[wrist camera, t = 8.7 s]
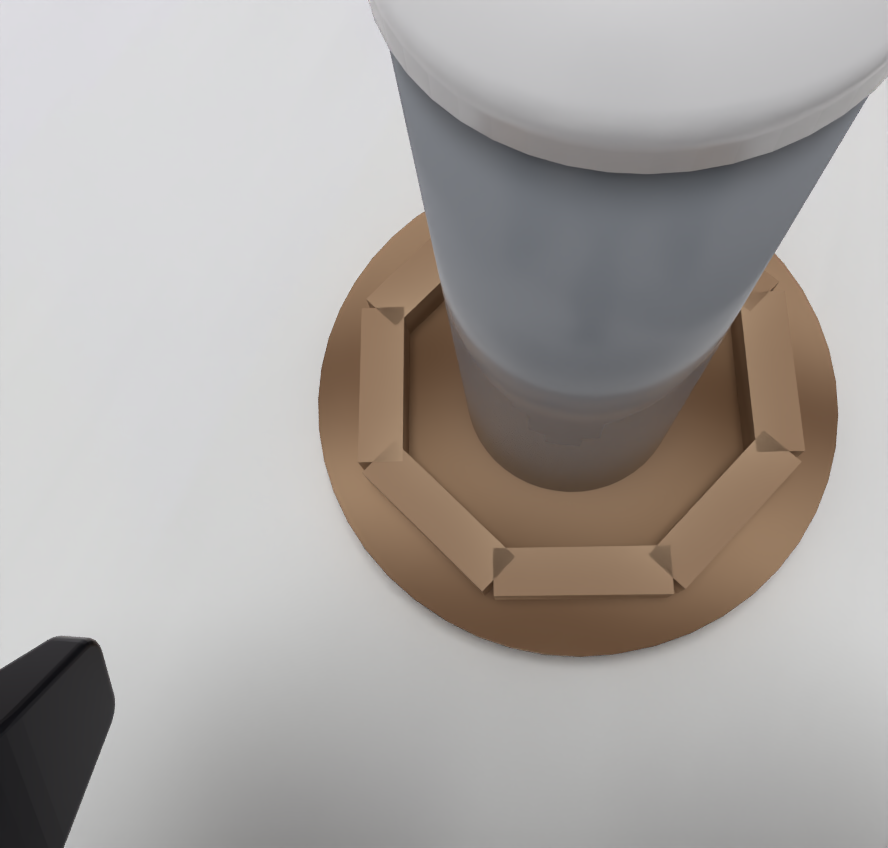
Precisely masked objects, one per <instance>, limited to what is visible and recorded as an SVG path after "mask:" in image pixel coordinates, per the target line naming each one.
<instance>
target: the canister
mask: <svg viewBox="0 0 888 848" xmlns="http://www.w3.org/2000/svg"><path fill="white" fill-rule="evenodd" d="M368 1H369V4H370V7H371V11H372V14H373V17H374V20H375V22H376V24H377V26H378V28H379V30H380V32H381V34H382V36H383V38H384V40H385V42H386V44H387V46H388V48H389V49H390V53H391V58H392V63H393V67H394V72H395V76H396V81H397V85H398V90H399V95H400V99H401V104H402V108H403V113H404V118H405V122H406V127H407V131H408V136H409V140H410V145H411V150H412V154H413V159H414V163H415V168H416V173H417V177H418V182H419V186H420V191H421V195H422V200H423V205H424V209H425V214H426V218H427V223H428V228H429V232H430V237H431V241H432V246H433V250H434V255H435V260H436V264H437V269H438V273H439V278H440V283H441V287H442V292H443V296H444V301H445V305H446V310H447V315H448V319H449V324H450V328H451V333H452V338H453V342H454V347H455V351H456V356H457V360H458V365H459V370H460V374H461V379H462V383H463V388H464V393H465V397H466V402H467V406H468V411H469V415H470V418H471V422H472V425H473V428H474V430H475V432H476V434H477V436H478V438H479V440H480V442H481V443H482V445H483V446H484V448H485V449H486V451H487V452H488V453H489V454H490V455H491V457H492V458H493V459H494V460H495V461H496V462H497V463H498V464H499V465H500V466H502V467H503V468H504V469H505V470H507V471H508V472H509V473H511V474H512V475H514V476H515V477H517V478H519V479H521V480H523V481H525V482H527V483H529V484H532V485H535V486H537V487H540V488H544V489H549V490H553V491H562V492H583V491H589V490H595V489H599V488H602V487H606V486H609V485H611V484H614V483H616V482H618V481H620V480H622V479H624V478H626V477H627V476H629V475H630V474H632V473H634V472H635V471H636V470H637V469H639V468H640V467H641V466H642V465H643V464H645V462H646V461H647V460H648V459H649V458H650V457H651V456H652V455H653V454H654V452H655V451H656V449H657V448H658V447H659V445H660V444H661V442H662V440H663V439H664V437H665V435H666V434H667V432H668V430H669V429H670V427H671V425H672V424H673V422H674V420H675V419H676V417H677V415H678V414H679V412H680V410H681V409H682V407H683V405H684V404H685V402H686V400H687V399H688V397H689V395H690V394H691V392H692V390H693V389H694V387H695V385H696V384H697V382H698V380H699V379H700V377H701V375H702V374H703V372H704V370H705V369H706V367H707V365H708V364H709V362H710V360H711V358H712V357H713V355H714V353H715V352H716V350H717V348H718V347H719V345H720V343H721V342H722V340H723V338H724V337H725V335H726V333H727V332H728V330H729V328H730V327H731V325H732V323H733V322H734V320H735V318H736V317H737V315H738V313H739V312H740V310H741V308H742V307H743V305H744V303H745V302H746V300H747V298H748V297H749V295H750V293H751V292H752V290H753V288H754V287H755V285H756V283H757V282H758V280H759V278H760V277H761V275H762V273H763V271H764V270H765V268H766V266H767V265H768V263H769V261H770V260H771V258H772V256H773V255H774V253H775V251H776V250H777V248H778V246H779V245H780V243H781V241H782V240H783V238H784V236H785V235H786V233H787V231H788V230H789V228H790V226H791V225H792V223H793V221H794V220H795V218H796V216H797V215H798V213H799V211H800V210H801V208H802V206H803V205H804V203H805V201H806V200H807V198H808V196H809V195H810V193H811V191H812V190H813V188H814V186H815V185H816V183H817V181H818V179H819V178H820V176H821V174H822V173H823V171H824V169H825V168H826V166H827V164H828V163H829V161H830V159H831V158H832V156H833V154H834V153H835V151H836V149H837V148H838V146H839V144H840V143H841V141H842V139H843V138H844V136H845V134H846V133H847V131H848V129H849V128H850V126H851V124H852V123H853V121H854V119H855V118H856V116H857V114H858V113H859V111H860V109H861V108H862V106H863V104H864V103H865V101H866V99H867V98H868V96H869V94H871V93H872V92H873V91H874V90H875V89H876V88H877V87H878V86H879V85H880V84H881V83H882V82H883V81H884V80H885V79H886V78H887V77H888V0H368Z"/></svg>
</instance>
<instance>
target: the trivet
mask: <svg viewBox="0 0 888 848" xmlns="http://www.w3.org/2000/svg"><path fill="white" fill-rule="evenodd" d="M318 406H319V432H320V438H321V444H322V450H323V456H324V462H325V465H326V468H327V471H328V474H329V478H330V481H331V484H332V487H333V491H334V493H335V495H336V497H337V500H338V502H339V504H340V506H341V508H342V510H343V513H344V515H345V517H346V519H347V521H348V523H349V524H350V526H351V527H352V529H353V531H354V532H355V534H356V535H357V537H358V538H359V540H360V541H361V543H362V545H363V546H364V548H365V549H366V551H367V552H368V553H369V554H370V555H371V556H372V558H373V559H374V560H375V561H376V562H377V563H378V565H379V566H380V567H381V568H382V569H383V570H384V572H385V573H386V574H387V575H388V576H389V577H390V578H391V579H392V580H393V581H394V582H396V583H397V584H398V585H399V586H400V587H401V588H402V589H403V590H405V591H406V592H407V593H408V594H409V595H410V596H411V597H412V598H414V599H415V600H416V601H418V602H419V603H421V604H422V605H424V606H425V607H427V608H428V609H430V610H431V611H433V612H434V613H436V614H437V615H438V616H440V617H441V618H443V619H444V620H446V621H448V622H449V623H452V624H454V625H456V626H458V627H460V628H462V629H464V630H466V631H468V632H470V633H472V634H474V635H476V636H478V637H480V638H483V639H486V640H489V641H492V642H495V643H498V644H501V645H504V646H507V647H510V648H514V649H519V650H524V651H529V652H534V653H539V654H544V655H558V656H574V657H584V656H598V655H612V654H619V653H624V652H628V651H633V650H638V649H642V648H647V647H652V646H656V645H659V644H662V643H665V642H667V641H670V640H673V639H676V638H679V637H681V636H684V635H687V634H690V633H692V632H694V631H696V630H698V629H699V628H701V627H703V626H705V625H707V624H709V623H711V622H713V621H715V620H717V619H718V618H720V617H722V616H724V615H725V614H727V613H728V612H729V611H731V610H732V609H734V608H735V607H736V606H738V605H739V604H740V603H742V602H743V601H745V600H746V599H747V598H749V597H750V596H752V595H753V594H754V593H755V592H756V591H757V590H758V589H759V588H760V587H761V586H762V585H763V584H764V583H765V582H766V581H767V580H768V579H769V578H770V577H771V576H772V575H773V574H774V573H775V572H776V571H778V569H779V568H780V567H781V565H782V564H783V563H784V561H785V560H786V559H787V558H788V556H789V555H790V554H791V552H792V551H793V550H794V549H795V547H796V546H797V545H798V543H799V542H800V540H801V538H802V537H803V535H804V533H805V531H806V529H807V528H808V526H809V524H810V522H811V521H812V519H813V517H814V515H815V513H816V511H817V509H818V506H819V503H820V501H821V498H822V496H823V493H824V490H825V488H826V485H827V483H828V479H829V475H830V470H831V466H832V462H833V457H834V453H835V448H836V435H837V422H838V406H837V392H836V380H835V376H834V371H833V366H832V361H831V357H830V352H829V348H828V346H827V343H826V340H825V337H824V334H823V332H822V329H821V326H820V323H819V321H818V318H817V316H816V314H815V313H814V311H813V309H812V307H811V305H810V303H809V301H808V299H807V297H806V295H805V293H804V292H803V290H802V288H801V287H800V286H799V284H798V283H797V281H796V280H795V278H794V277H793V276H792V274H791V273H790V271H789V270H788V269H787V267H786V266H785V264H784V263H783V262H782V261H781V260H780V259H779V258H778V257H777V255H776V254H775V253H774V255H773V256H772V258H771V260H770V261H769V263H768V265H767V266H766V268H765V270H764V271H763V273H762V275H761V277H760V278H759V280H758V282H757V283H756V285H755V287H754V288H753V290H752V292H751V293H750V295H749V297H748V298H747V300H746V302H745V303H744V305H743V307H742V308H741V310H740V312H739V313H738V315H737V317H736V318H735V320H734V322H733V323H732V325H731V327H730V328H729V330H728V332H727V333H726V335H725V337H724V338H723V340H722V342H721V343H720V345H719V347H718V348H717V350H716V352H715V353H714V355H713V357H712V358H711V360H710V362H709V364H708V365H707V367H706V369H705V370H704V372H703V374H702V375H701V377H700V379H699V380H698V382H697V384H696V385H695V387H694V389H693V390H692V392H691V394H690V395H689V397H688V399H687V400H686V402H685V404H684V405H683V407H682V409H681V410H680V412H679V414H678V415H677V417H676V419H675V420H674V422H673V424H672V425H671V427H670V429H669V430H668V432H667V434H666V435H665V437H664V439H663V440H662V442H661V444H660V445H659V447H658V448H657V449H656V451H655V452H654V454H653V455H652V456H651V457H650V458H649V459H648V460H647V461H646V462H645V464H643V465H642V466H641V467H640V468H639V469H637V470H636V471H635V472H634V473H632V474H630V475H629V476H627V477H626V478H624V479H622V480H620V481H618V482H616V483H614V484H611V485H609V486H606V487H602V488H599V489H595V490H589V491H583V492H562V491H553V490H549V489H544V488H540V487H537V486H535V485H532V484H529V483H527V482H525V481H523V480H521V479H519V478H517V477H515V476H514V475H512V474H511V473H509V472H508V471H507V470H505V469H504V468H503V467H502V466H500V465H499V464H498V463H497V462H496V461H495V460H494V459H493V458H492V457H491V455H490V454H489V453H488V452H487V451H486V449H485V448H484V446H483V445H482V443H481V442H480V440H479V438H478V436H477V434H476V432H475V430H474V428H473V425H472V422H471V418H470V415H469V411H468V406H467V402H466V397H465V393H464V388H463V383H462V379H461V374H460V370H459V365H458V360H457V356H456V351H455V347H454V342H453V338H452V333H451V328H450V324H449V319H448V315H447V310H446V305H445V301H444V296H443V292H442V287H441V283H440V278H439V273H438V269H437V264H436V260H435V255H434V250H433V246H432V241H431V237H430V232H429V228H428V223H427V218H426V214H425V212H423V213H422V214H420V215H418V216H417V217H416V218H414V219H413V220H412V221H411V222H410V223H408V224H407V225H406V226H405V227H404V228H402V229H401V230H400V231H399V232H398V233H396V234H395V235H394V236H393V237H392V238H391V239H390V240H389V241H388V242H387V243H386V244H385V245H384V246H383V248H382V249H381V250H380V251H379V252H378V253H377V254H376V255H375V256H374V257H373V258H372V260H371V261H370V262H369V264H368V265H367V266H366V268H365V269H364V271H363V272H362V273H361V275H360V276H359V277H358V279H357V280H356V282H355V283H354V285H353V287H352V288H351V290H350V292H349V294H348V296H347V298H346V299H345V301H344V303H343V305H342V307H341V309H340V311H339V313H338V316H337V318H336V321H335V323H334V326H333V329H332V331H331V334H330V336H329V339H328V344H327V348H326V352H325V356H324V360H323V364H322V369H321V378H320V387H319V397H318Z"/></svg>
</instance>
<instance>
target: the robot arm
mask: <svg viewBox="0 0 888 848" xmlns="http://www.w3.org/2000/svg"><path fill="white" fill-rule="evenodd" d="M114 710H115V698H114V692H113V689H112V685H111V682H110V678H109V675H108V671H107V667H106V664H105V660H104V657H103V653H102V650H101V647H100V645H99V644H98V643H97V642H96V641H95V640H94V639H91V638H85V637H71V636H56V637H53V638H51V639H49V640H47V641H45V642H44V643H42V644H41V645H39V646H37V647H36V648H34V649H32V650H31V651H29V652H27V653H26V654H24V655H23V656H21V657H19V658H18V659H16V660H14V661H13V662H11V663H10V664H8V665H6V666H5V667H3V668H1V669H0V848H64V845H65V843H66V840H67V838H68V835H69V833H70V830H71V827H72V825H73V822H74V819H75V817H76V814H77V812H78V809H79V806H80V804H81V801H82V799H83V796H84V793H85V791H86V788H87V786H88V783H89V780H90V778H91V775H92V772H93V770H94V767H95V765H96V762H97V759H98V757H99V754H100V752H101V749H102V746H103V744H104V741H105V739H106V736H107V733H108V731H109V728H110V725H111V723H112V720H113V715H114Z"/></svg>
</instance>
